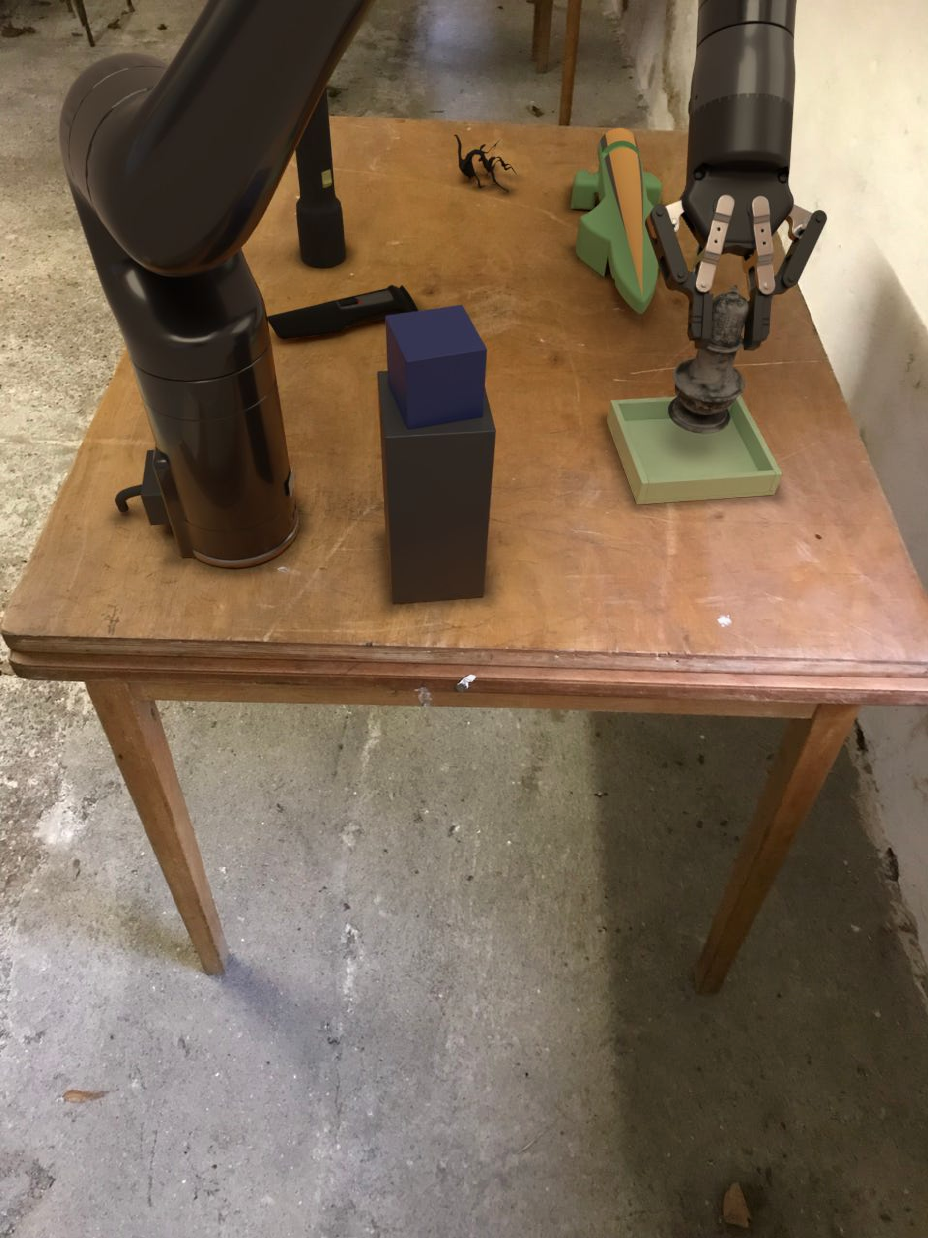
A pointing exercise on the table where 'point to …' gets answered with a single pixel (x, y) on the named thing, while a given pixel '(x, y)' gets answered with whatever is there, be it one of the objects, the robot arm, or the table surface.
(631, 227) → the toy spaceship
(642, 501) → the pale tray
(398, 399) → the navy block
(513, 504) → the table surface
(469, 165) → the creature
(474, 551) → the dark stand
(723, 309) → the dark grey chess piece
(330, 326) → the electric trimmer
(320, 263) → the flashlight
